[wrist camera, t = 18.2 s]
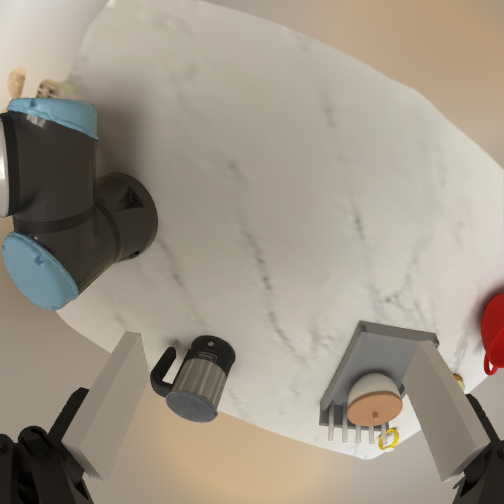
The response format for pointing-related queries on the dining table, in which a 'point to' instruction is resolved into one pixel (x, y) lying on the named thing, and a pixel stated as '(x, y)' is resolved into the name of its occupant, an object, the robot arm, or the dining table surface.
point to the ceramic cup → (493, 334)
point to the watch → (391, 447)
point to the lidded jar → (373, 400)
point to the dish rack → (369, 361)
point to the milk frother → (195, 378)
